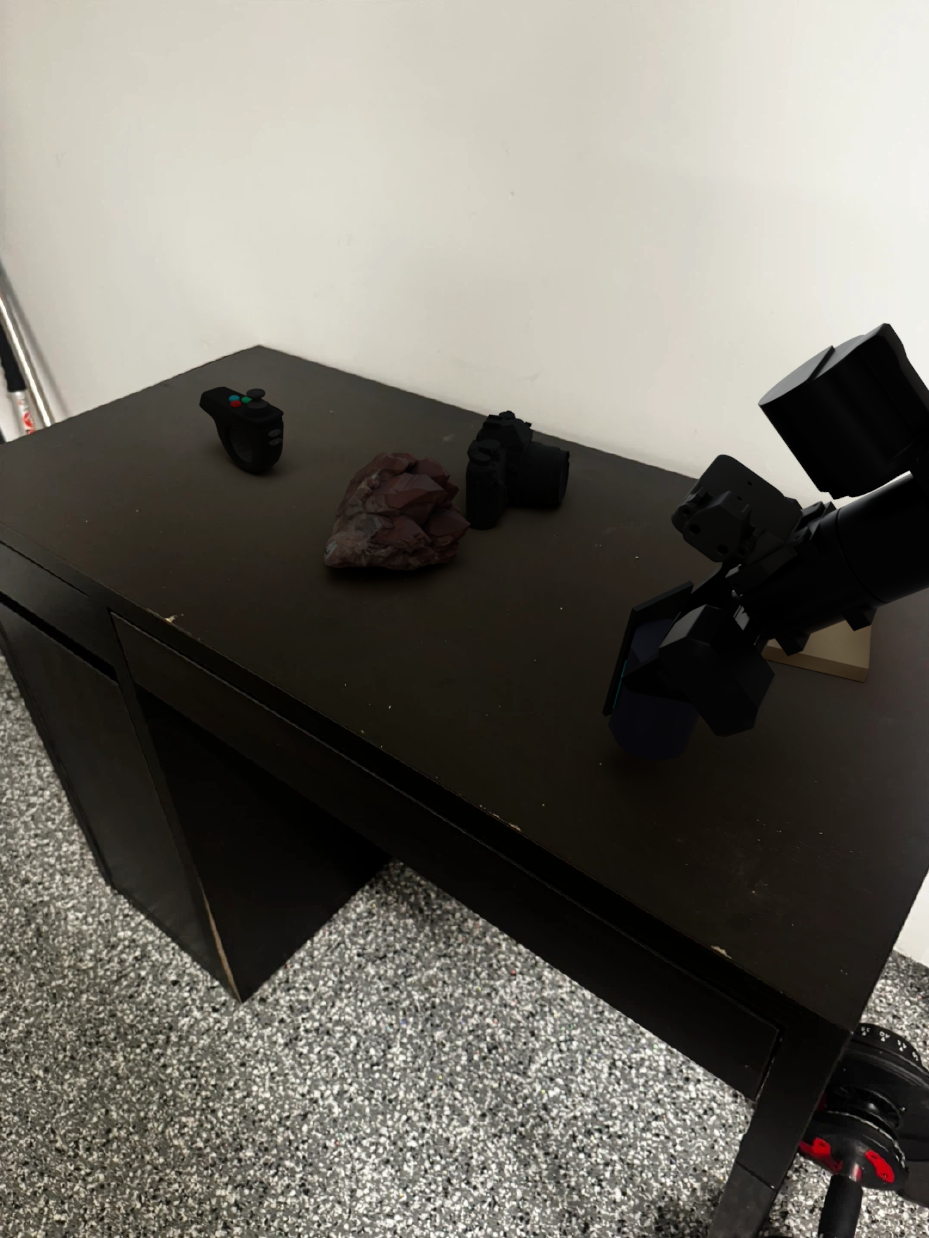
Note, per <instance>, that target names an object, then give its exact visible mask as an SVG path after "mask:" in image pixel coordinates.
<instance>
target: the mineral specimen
mask: <svg viewBox="0 0 929 1238" xmlns="http://www.w3.org/2000/svg"><path fill="white" fill-rule="evenodd" d="M450 477H451V473H450V472H449V471H448V470H447V469H446V468H445V467H444V466H443V465H441V463H440V462H438V461H437V459H435V458H434V457H432V456H431V457H430V456H429V457H422V458H416V456H415V453H414V452H381V453H379V454H376V455H375V456H374V458H372V460H371V461H370V462H368V464H366V465H364V466H363V467H361V468H360V469H358V470H356V471H355V474H354V476H353V478H350V480H349V484H348V485H347V488H346V490H345V493H344V496H343V498H342V500H341V501H340V502H339V505H338V508H337V510H336V513H335V516H334V521H333V526H332V532H331V535H330V536H329V538H328V540H327V541H326V544H325V547H324V553H323V557H322V559H323V560H324V566H327V567H331V568H336V569H342V568H347V567H351V568H369V567H379V568H386V569H389V570H395V571H406V572H408V571H414V570H417V569H418V568H419V567H426V566H428V565H435V564H442V563H443V564H444V563H452V562H453V561H454V559H455V558H456V556H457V552H458V550H459V546H460V543H459V540H461V539H462V538H463V537H465V535H466V533H467V531H468V530H469V528H470V527H471V526H470V523H469V522H468V521H466V518H465V517H463V516H462V515H461V514H460V512H461V509H460V508H459V507H458V506H457V505H456V504H454V503H453V500H454V499H455V497H456V496H457V494H458V493H459V492H460V488H459V486H458V485H457V484H456V483H455V482H454V481H453V480H451V478H450Z"/></svg>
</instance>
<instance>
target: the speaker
mask: <svg viewBox="0 0 929 1238" xmlns="http://www.w3.org/2000/svg"><path fill="white" fill-rule="evenodd" d="M694 586H695V583H694V582H692V581H691V580H688V581H686V582H684V583H681V584H679V585H678V586H675V587H673V588H671V589H669V590H667V591H665V592H662V593H660V594H658V595H656V596H654V597H652V598H650V599H648V600H645V601H643V602H641V603H639V604H637V605H635V606H633V607H632V608H631V610H630V614H629V617H628V621H627V624H626V628H625V631H624V635H623V637H622V642H621V645H620V649H619V652H618V656H617V659H616V664H615V667H614V669H613V673H612V677H611V680H610V684H609V687H608V690H607V694H606V698H605V701H604V704H603V708H602V712H601V714H602V715H603V716H604V717H608V716H610V717H609V719H608V724H607V728H608V729H609V731H610V733H611V734H612V736H613V738H614V740H615V742H616V744H617V746H618V747H620V749H622V750H623V751H624V752H626V753H627V754H629V755H632V756H635V757H637V758H640V759H644V760H648V761H651V762H654V763H655V762H660V761H666V760H671V759H676V758H679V757H680V756H681V755H682V754H683V753H685V751H686V750H687V749H688V745H689V743H690V740H691V739H692V735H693V733H694V730H695V727H696V724H697V722H698V719H699V717H700V716H701V715H700V714H699V713H698V711H697V710H696V709H695V707H694V706H693V705H692V704H690V703H686V702H681V701H676V700H671V699H666V698H660V697H654V696H649V695H643V694H638V693H632V692H630V691H628V690H627V688H626V687H625V686H624V684H623V683H622V682H621V678H622V677H623V675H625V674H626V673H627V672H629V671H630V670H631V669H633V668H634V667H636V666H637V665H638V664H640V663H641V662H643V661H644V660H646V659H647V658H649V657H650V656H652V655H653V654H655V653H656V652H658V648H659V647H660V645H661V644H662V642H663V638H664V635H665V634H666V632H667V631H668V629H669V628H670V626H671V625H672V623H673V622H674V620H675V619H676V617H677V616H678V614H679V613H680V612H681V613H682V614H683V612H684V610H685V607H686V605H687V603H688V601H689V598H690V595H691V592H692V590H693V589H694Z"/></svg>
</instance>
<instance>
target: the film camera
mask: <svg viewBox="0 0 929 1238" xmlns="http://www.w3.org/2000/svg"><path fill="white" fill-rule="evenodd" d="M532 425H533V423H532V422H529V421H525V420H523V419H521V418H518V417H517V416H516V414H515V413H514V412H513V411H512V410H510V409H507V410H505V411H501V412H499V413H498V414H491V413H489V414H488V415H487V417H486V419H485V421H483V422H482V427H481V428H480V429H479V430H478V432H477V433H476V436H475V439H473V440H472V441H471V442H470V444H469V446H468V448H467V450H466V454H467V457H468V459H469V460H468V462H467V465H466V469H465V514H464V518H465V520H466V521H468V522H469V523H470V526H469V527H471V528H473V529H479V530H490V529H492V528H494V527H496V526H497V523H498V522H499V520H500V519H501V518H502V517H503V516H504V509H505V508H506V506H507V505H509V504H515V505H520V503H521V502H523V501H524V502H525V503H537V504H543V505H553V504H562V503H563V501H564V498H565V495H566V491H567V488H568V481H569V474H570V465H571V462H570V457H571V454H570V453H571V452H570V450H564V449H561V448H560V447H559V446H554V445H543V444H541V443H539V442H533V438H534V429H533V428H531V427H532Z"/></svg>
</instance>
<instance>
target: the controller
mask: <svg viewBox="0 0 929 1238" xmlns="http://www.w3.org/2000/svg"><path fill="white" fill-rule="evenodd" d="M265 396H266V391H265V389H262V388H259V387H258V388H257V387H256V388H250V389H248V390H247V391H246V393H245V394H244V393H241V392H238V391H237V390H234V389H231V388H229V387H227V386H217V387H214V388H210V389H207V390H204V391H203V392H202V393H201V395H200V398H199V403H198V406H199V408H201V409H202V411H204V412H205V413H206V414H207V415H208V416H209V417H211V419H212V420H213V421H214V424H215V428H216V432H217V436H218V439H219V440H220V443H221V444H222V447H223V449H224V450H225V452H226V453H227V455H228V456H229V457H230V459H231V460H232V461H233V462H234V463H235V464H236V465H237V466H238V467H240V468H241V469H243V470H244V471H248V472H253V473H258V472H262V471H264V470H267V469H269V468H271V467H273V466H274V465H275V464H277V463H278V461H279V460H280V459H281V456H282V454H283V449H284V448H283V447H284V429H285V424H284V421H283V420H284V419H283V416H284V415H285V412H284V410H282V409H280V408H279V407H277V406H275V405H273V404H271V403H270V402H268V401H267V400H265V399H263V398H264V397H265Z"/></svg>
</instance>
